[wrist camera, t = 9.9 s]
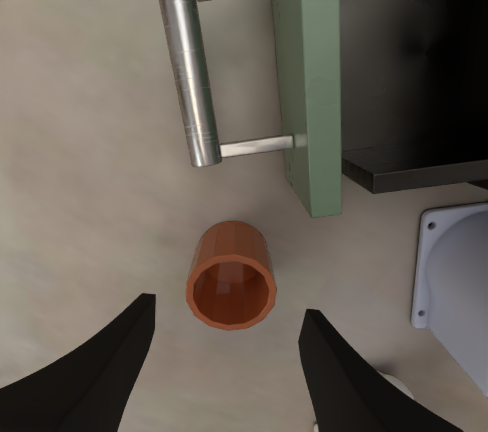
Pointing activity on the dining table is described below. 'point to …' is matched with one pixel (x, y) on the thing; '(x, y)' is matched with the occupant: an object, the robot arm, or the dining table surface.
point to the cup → (231, 277)
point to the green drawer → (355, 94)
